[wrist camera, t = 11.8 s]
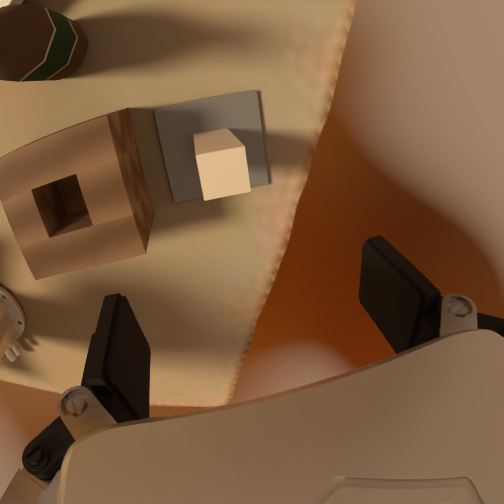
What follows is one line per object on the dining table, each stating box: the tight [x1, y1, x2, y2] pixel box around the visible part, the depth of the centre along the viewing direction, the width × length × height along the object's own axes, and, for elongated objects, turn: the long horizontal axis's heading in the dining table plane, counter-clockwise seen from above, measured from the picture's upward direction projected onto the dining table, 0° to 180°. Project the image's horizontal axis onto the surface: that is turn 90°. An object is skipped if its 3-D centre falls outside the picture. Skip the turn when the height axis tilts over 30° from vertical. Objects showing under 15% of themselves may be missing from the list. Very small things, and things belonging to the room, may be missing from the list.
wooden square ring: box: [0, 108, 154, 280], centre depth 30 cm, size 14×14×10 cm
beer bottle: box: [0, 4, 88, 82], centre depth 15 cm, size 8×8×24 cm
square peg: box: [193, 128, 251, 201], centre depth 30 cm, size 4×4×12 cm
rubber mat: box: [154, 90, 269, 203], centre depth 36 cm, size 12×12×1 cm
